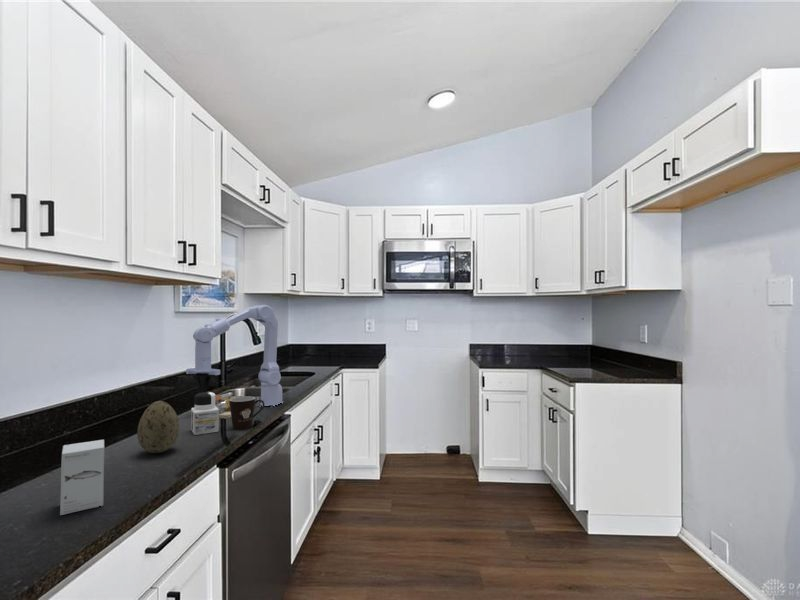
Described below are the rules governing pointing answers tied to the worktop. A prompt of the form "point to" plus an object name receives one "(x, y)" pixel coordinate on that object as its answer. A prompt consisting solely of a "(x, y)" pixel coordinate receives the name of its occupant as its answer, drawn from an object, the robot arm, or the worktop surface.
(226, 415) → the mounting board
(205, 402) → the container
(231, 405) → the coffee mug
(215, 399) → the valve lever
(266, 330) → the robot arm
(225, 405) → the valve pipe
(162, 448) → the decorative egg
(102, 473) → the supplement box
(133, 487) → the worktop surface
